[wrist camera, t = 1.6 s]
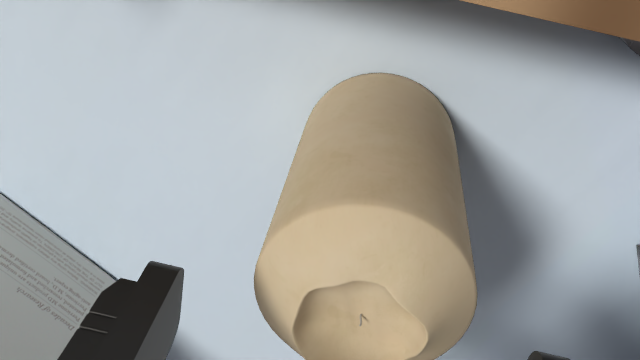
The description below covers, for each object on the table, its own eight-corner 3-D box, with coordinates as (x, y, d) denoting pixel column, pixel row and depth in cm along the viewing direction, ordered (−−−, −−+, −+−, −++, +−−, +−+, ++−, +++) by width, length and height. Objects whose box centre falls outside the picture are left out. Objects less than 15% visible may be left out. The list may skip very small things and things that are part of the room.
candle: (452, 63, 20) (484, 237, 11) (456, 199, 23) (484, 423, 14) (294, 77, 21) (214, 247, 12) (316, 206, 24) (263, 418, 15)
